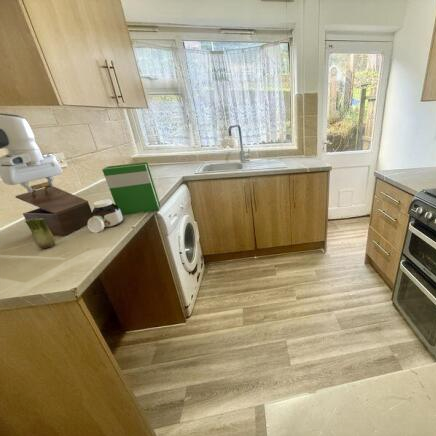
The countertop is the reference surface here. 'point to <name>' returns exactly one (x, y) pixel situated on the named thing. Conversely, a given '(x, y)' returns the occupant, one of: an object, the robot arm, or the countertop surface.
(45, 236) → the fennel bulb
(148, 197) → the hardback book
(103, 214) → the spread jar
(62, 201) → the chest lid
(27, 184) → the robot arm
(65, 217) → the chest
